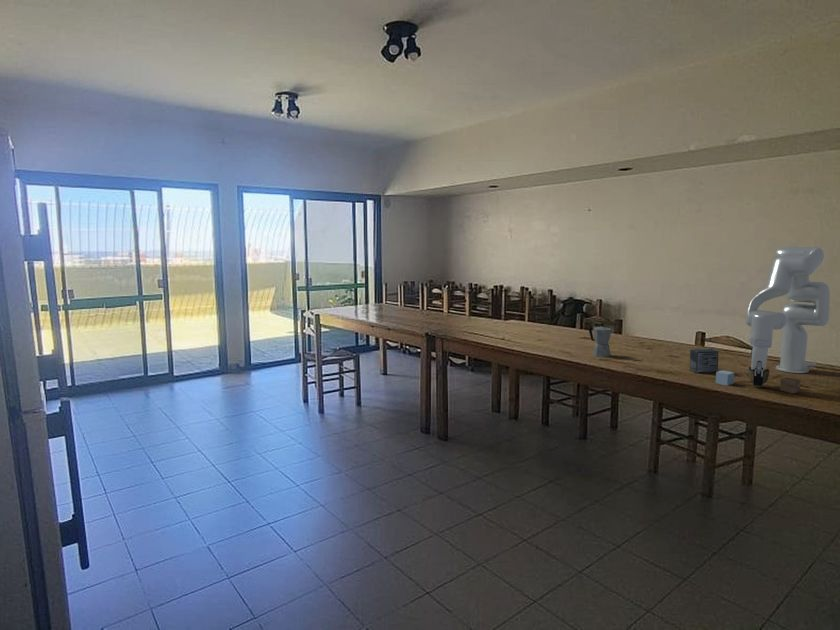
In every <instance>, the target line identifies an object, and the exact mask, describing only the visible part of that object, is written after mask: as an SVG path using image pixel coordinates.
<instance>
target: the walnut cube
mask: <svg viewBox="0 0 840 630" xmlns="http://www.w3.org/2000/svg"><path fill="white" fill-rule="evenodd" d="M779 391H781V392H786V393H789V394H796V393H799V392H801V379H798V378H794V377H789V376H786V377H782V378H780V386H779Z"/></svg>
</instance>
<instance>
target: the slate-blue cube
mask: <svg viewBox="0 0 840 630" xmlns="http://www.w3.org/2000/svg"><path fill="white" fill-rule="evenodd" d="M715 384H719V385H723V386H731V385H733V384H735V372H732V371H728V370H724V369H723V370H718V372H716V373H715Z"/></svg>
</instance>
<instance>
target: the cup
mask: <svg viewBox="0 0 840 630" xmlns="http://www.w3.org/2000/svg"><path fill="white" fill-rule="evenodd" d="M770 372H771V370H770V369H769V368H767V369H766V368H765V371H763V385H762V386H757V385H753V382H754V376H755V369H753V370H751V366H749V367H748V379H749V381H750V383H752V387H754V388H757V389H761V388H763V387H764V384H767V381H768V380H769V375H770Z"/></svg>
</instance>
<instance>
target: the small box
mask: <svg viewBox="0 0 840 630" xmlns="http://www.w3.org/2000/svg"><path fill="white" fill-rule="evenodd" d="M689 371H690V372H693V373H695V374H712V373H713V374H714V373H715V374H716V372H718V371H719V350H716V349H712V348H701V349H698V348H697V349H690V351H689Z"/></svg>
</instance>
